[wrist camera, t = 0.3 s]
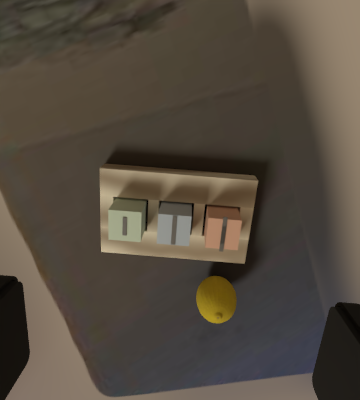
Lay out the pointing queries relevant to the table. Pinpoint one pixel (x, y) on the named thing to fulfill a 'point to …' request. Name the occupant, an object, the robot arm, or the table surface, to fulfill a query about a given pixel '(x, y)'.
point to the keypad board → (177, 192)
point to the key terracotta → (222, 227)
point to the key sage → (127, 219)
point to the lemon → (216, 299)
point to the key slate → (174, 223)
